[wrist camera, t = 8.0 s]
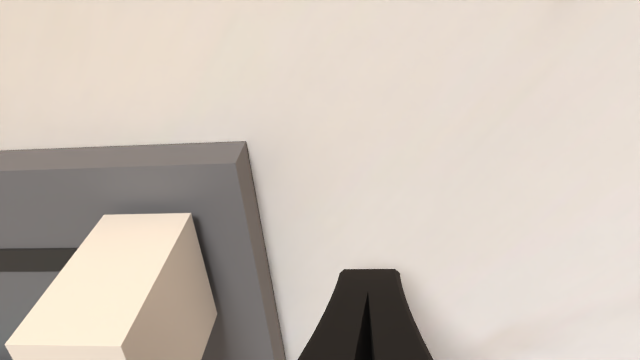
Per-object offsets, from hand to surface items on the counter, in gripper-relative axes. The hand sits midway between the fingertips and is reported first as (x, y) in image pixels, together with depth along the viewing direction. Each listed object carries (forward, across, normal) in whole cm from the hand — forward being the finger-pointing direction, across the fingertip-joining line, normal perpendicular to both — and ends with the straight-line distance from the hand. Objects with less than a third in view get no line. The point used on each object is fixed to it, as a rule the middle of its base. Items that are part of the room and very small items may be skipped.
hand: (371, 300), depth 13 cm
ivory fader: (+1, +6, 0) cm, 6 cm away
